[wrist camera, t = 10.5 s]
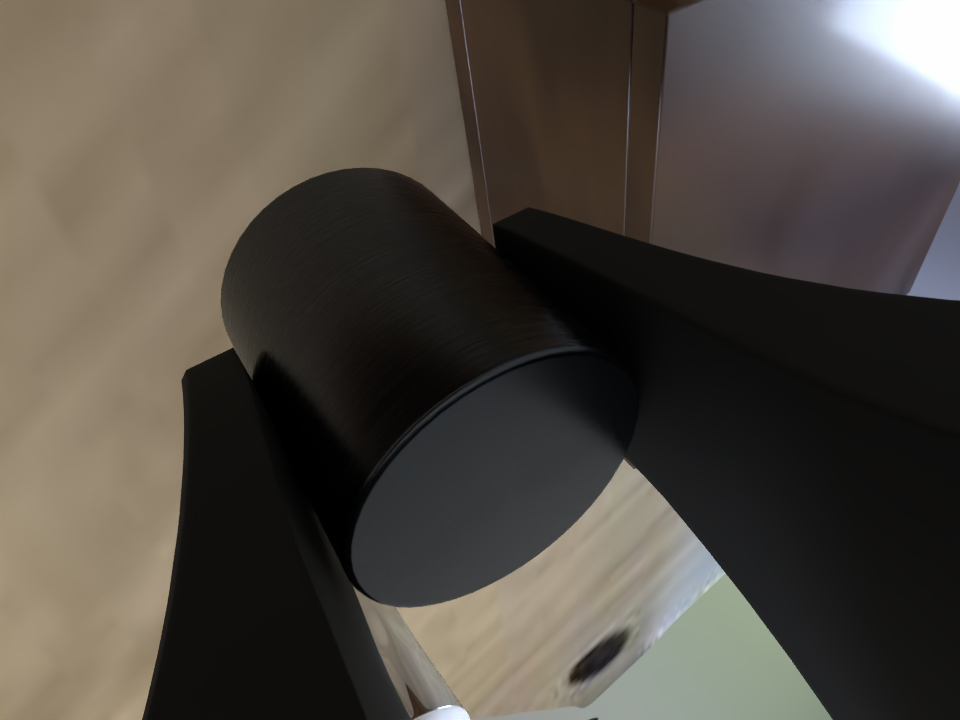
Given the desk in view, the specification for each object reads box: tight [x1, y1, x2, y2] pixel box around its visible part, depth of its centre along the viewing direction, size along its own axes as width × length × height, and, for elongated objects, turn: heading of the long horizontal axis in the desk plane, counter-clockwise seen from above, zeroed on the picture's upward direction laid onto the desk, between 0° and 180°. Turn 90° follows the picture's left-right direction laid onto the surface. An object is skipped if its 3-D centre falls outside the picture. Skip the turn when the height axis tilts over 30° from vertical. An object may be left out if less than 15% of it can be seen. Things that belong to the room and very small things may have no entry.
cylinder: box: [221, 168, 639, 608], centre depth 9 cm, size 4×4×4 cm
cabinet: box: [445, 0, 960, 469], centre depth 19 cm, size 13×12×8 cm
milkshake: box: [353, 586, 470, 720], centre depth 24 cm, size 5×5×10 cm
